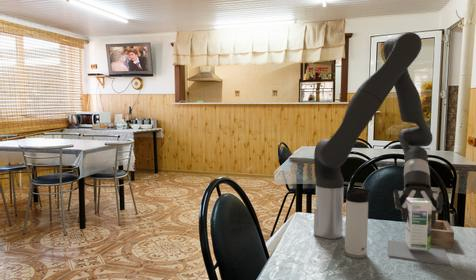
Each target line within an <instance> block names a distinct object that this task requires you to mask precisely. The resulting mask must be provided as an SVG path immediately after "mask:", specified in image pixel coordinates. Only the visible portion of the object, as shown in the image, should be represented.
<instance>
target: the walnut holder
mask: <svg viewBox="0 0 476 280" xmlns="http://www.w3.org/2000/svg"><path fill="white" fill-rule="evenodd" d="M454 238H455V231H454V230H453V229H452V227H451V225H450V223H449V222H448V220H440V219H439V220H438V219H436V222H435V224H433V225H431V242H430V245H431V246H439V247H443V248H450V249H454V241H455V239H454Z"/></svg>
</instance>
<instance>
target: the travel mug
mask: <svg viewBox="0 0 476 280" xmlns="http://www.w3.org/2000/svg"><path fill="white" fill-rule="evenodd" d="M369 193H371V191H370V188H353V189H348V190H347V191H346V199H345V202H346V203H345V230H344V232H345V233H344V235H345V236H344V254H345V256H347V257H350V258H353V259H363V258H365V257H367V255H368V251H367V250H368V225H369V224H368V223H369V221H368V220H369Z"/></svg>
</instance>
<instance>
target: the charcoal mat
mask: <svg viewBox="0 0 476 280" xmlns="http://www.w3.org/2000/svg"><path fill="white" fill-rule="evenodd" d="M387 253H388V258H394V259H401V260H408V261H414V262H422V263H429V264H436V265H442V266H450V267H451V266H452V264H451V261H450V259H449V257H448V255H447V252H446V250H445V247H440V246H432V245H430V250H423V249H410V248H409V247H408V245H407V243H406V242H405V241H396V240H391V239H390V240H389V239H387Z"/></svg>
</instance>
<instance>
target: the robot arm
mask: <svg viewBox="0 0 476 280" xmlns="http://www.w3.org/2000/svg"><path fill="white" fill-rule="evenodd" d="M422 45H423V44H422V38H421V36H420V35H419V34H417V33H415V32H402V33H399V34H394V35H391V36H389V37H388V38H387V39H386V40H385V41H384V43H383V47H382V51H383V56H384V58H385V59H384V60H385V61H384V62H383V64H382V65H381V66H380V67H379V68H378V69H377V70H376V71H375V72H374V73H372V74H371V75H370V76H368V78H367V79H366V80H364V82H362V83H361V85H360V86H359V87H358V88H357V90H356V91H355V93H354V94H353V96H352V98H350V101H349V102H348V104H347V107H346V110H345V113H344V116H343V119H342V121H341V123H340V125H339V127H338V128H337V130H336V131H335V132H334V134H333V135H332V136H331V137H330V138H323V139H320V141H317V144H316V146H315V148H314V154H313V157H314V158H313V160H314V164H313V165H314V166H313V167H314V168H313V169H314V178H315V206H314V209H313V236H317V237H320V238H323V239H327V240H328V239H329V240H332V239H334V240H336V239H340V238H342V237H343V226H344V225H343V222H344V221H343V219H344V188H345V187H344V185H345V184H344V181H345V179H344V177H343V173H342V172H341V171H342V170H341V166H342V165H343V164H344V163H346V161H347V159H348V158H349V156H350V154H351V152H352V150H353V149H354V146H355V144H356V143H357V141H358V139H359V137H360V136H361V134H362V133H363V132H364V130H365V129H366V128H367V126H368V125H369V124H370V121H372V119H373V118H374V116H375V115H376V113H377V112H378V111H379V109H380V108H381V106H382V104H383V103H384V101H385V100H386V98H387V97H388V96H389V94H390V93H391V91H393V88H394V91H395V94H396V97H397V98H396V99H397V103H398V109H399V114H400V115H399V116H400V119H401V121H402V122H404V123H408V124H409V123H411V124H415V125H417V126H415V127H408V128H403V129H401V130H400V131H399V133H398V138H397V139H398V141H399V145H400V146H401V149H402V152H403V155H404V157H403V158H404V168H403V186H404V187H403V190H399V189H396V188H395V189H394V190H393V198H394V206H395V207H394V208H395V210H399V211H400V212H401V220H402V221H404V223H405V224H406V223H407V209H406V208H407V199H406V198H425V199H428V200H429V201H430V202H431V203H432V212H431V225H433V224H435V222H436V220H437V219H436V218H437V216H436V215H437V214H441V213H442V210H443V203H444V202H443V201H444V194H443V192H438V193H435V192H433V191H432V190H431V188H432V187H431V176H430V175H431V171H430V166H429V159H428V158H429V157H428V152H427V150H426V149H425V148H424V147H429V146H430V145H431V144H432V143H433V134H432V132H431V129H430V127H429V126H428V123H427V122H426V119H425V116H424V113H423V107H422V106H423V105H422V99H421V95H420V93H419V90H418V88H417V87H416V85H415V83H414V82H413V80H412V78H411V75H410V73H409V67H410V66H411V65H412V64H413V62H414V61H415V60H416V59H417V57H418V56H419V54H420V53H421V50H422V47H423V46H422ZM402 196H403V197H404V199H405V201H404V202H403V204H401V200H400V199H401V198H402ZM432 198H433V199H434V200H435V202H436V207H435V206H434V204H433V202H432V200H431V199H432Z"/></svg>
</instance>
